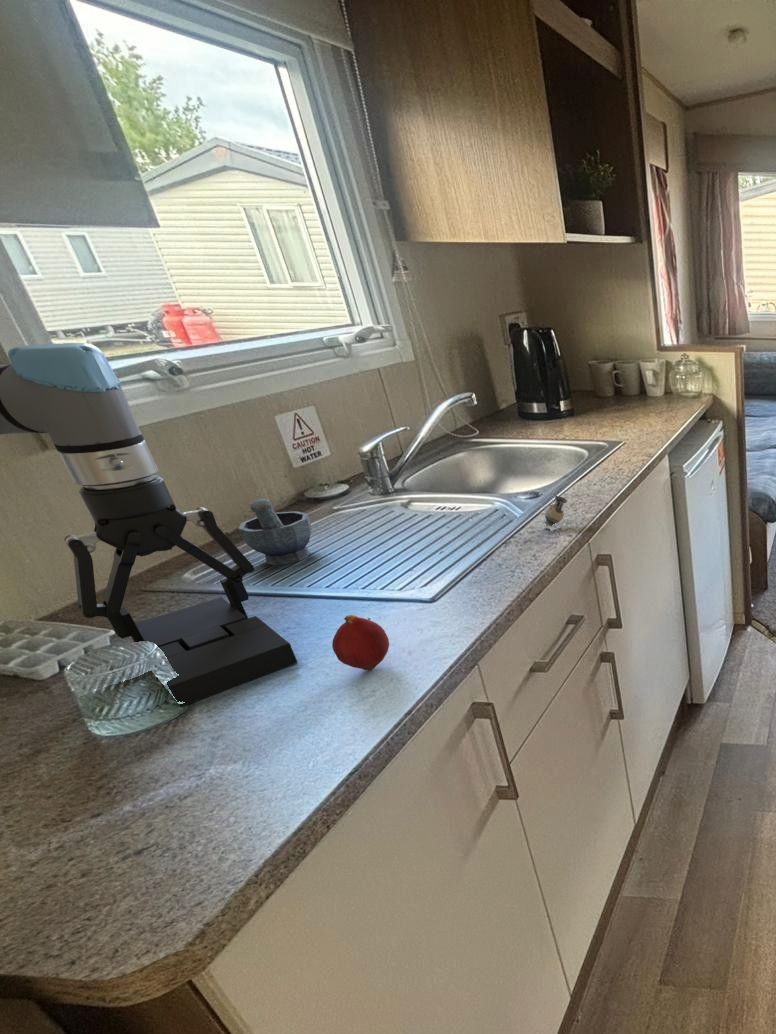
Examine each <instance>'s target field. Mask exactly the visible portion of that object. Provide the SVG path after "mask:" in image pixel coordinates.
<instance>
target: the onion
mask: <svg viewBox="0 0 776 1034" xmlns="http://www.w3.org/2000/svg"><path fill="white" fill-rule="evenodd" d="M343 619H344V623H342V624H341V625H340V626H339V627H338V629H337V630H336V632H335V634H334V636H333V638H332V643H331V644H332V645H331V646H332V650H333V651H332V652H333V653H334V654H335V656H336V658H337V659H338V661H339V662H341V663H342V664H344V665H346V666H348V667H351V668H356V669H361V670H363V671H372V670H373V669H375V668H376V667H377V666H378V665H379V664H380V663H381V662H382V661H383V660H384V659H385V657H386V656H387V654H388V651H389V648H390V639H389V637H388V635H387V633H386V631H385V630H384V628H383V627H382V626H381V625H380V624H378V623H377V622H375V621H373V620H371V619H367V618H364V617H359V616H357V615H356V614H355V615H354V614H347V615H346V616H345V617H343Z"/></svg>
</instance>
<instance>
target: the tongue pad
mask: <svg viewBox="0 0 776 1034" xmlns="http://www.w3.org/2000/svg"><path fill="white" fill-rule="evenodd" d="M245 619H247V618H246V617H245V616H244V615H243V614H242V613H240V612H239V611H238V610H237V609H236V608H234V607H233V606H232V605H231V604H230V602H229V601H227V600H226V599H225V598H223V596H220V597H217V598H214V599H210V600H207V601H204V602H201V603H197V604H194V605H191V606H188V607H184V608H180V609H178V610H174V611H171V612H167V613H165V614H161V615H157V616H154V617H151V618H147V619H144V620H141V621H137V622H135V624H136V626H137V628H138V630H139V632H140V634H141V636H142V637H143V640H144V641H149V642H153V643H155V644H156V645H157V646H158V647H161V646H165V645H168V644H171V643H174V642H178V643H179V644H180V645H181V646H182V647H183V648H184V649H185V650H186V651H189V650H192V649H195V648H198V647H201V646H204V645H207V644H210V643H213V642H216V641H219V640H222V639H225V638H228V637H230V636H229V634H228V632H227V630H226V627H225V626H226V625H229V624H232V623H235V622H239V621H242V620H245Z"/></svg>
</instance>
